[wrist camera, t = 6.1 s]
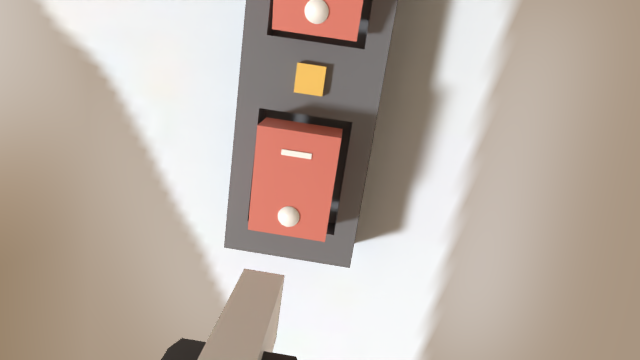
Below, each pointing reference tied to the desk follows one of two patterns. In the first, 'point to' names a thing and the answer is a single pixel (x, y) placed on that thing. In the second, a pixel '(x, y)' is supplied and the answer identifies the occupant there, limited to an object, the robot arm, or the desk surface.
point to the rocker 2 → (293, 178)
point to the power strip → (309, 118)
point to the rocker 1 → (318, 17)
